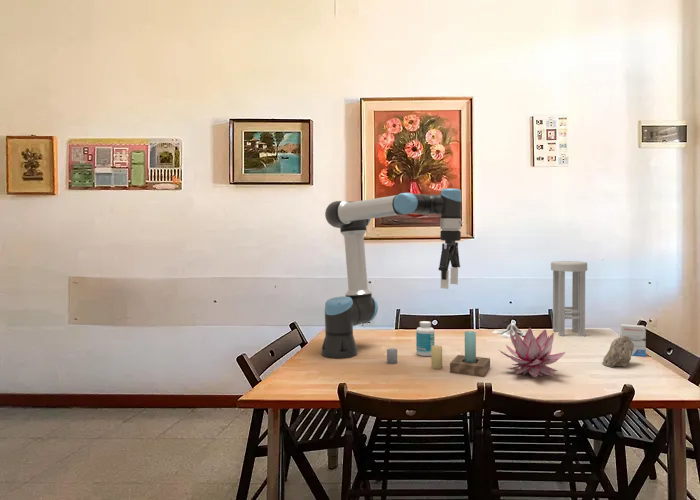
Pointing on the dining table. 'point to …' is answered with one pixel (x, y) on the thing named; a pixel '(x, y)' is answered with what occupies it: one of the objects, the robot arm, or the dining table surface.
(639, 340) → the ink box
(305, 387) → the dining table surface
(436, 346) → the medium pin
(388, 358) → the short pin
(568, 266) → the stool
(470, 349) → the long pin
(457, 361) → the socket block
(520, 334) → the cloth
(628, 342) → the rock
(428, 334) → the pill bottle
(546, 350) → the decorative flower
